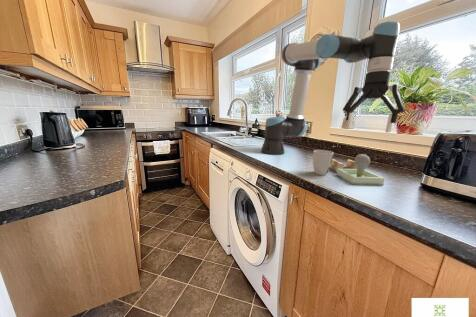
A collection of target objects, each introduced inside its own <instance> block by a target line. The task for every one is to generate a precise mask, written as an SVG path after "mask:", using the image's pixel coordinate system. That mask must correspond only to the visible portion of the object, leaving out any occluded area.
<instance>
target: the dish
mask: <svg viewBox="0 0 476 317" xmlns="http://www.w3.org/2000/svg"><path fill="white" fill-rule="evenodd" d="M356 175H357V169H337V172H336V176H338V177H340V178H341V179H343V180H344V181H346V182H348V183H349V184H351V185H357V186H358V185H360V186H361V185H365V186H384V183H385V179H386V178H385V177H382V176H381V175H378V174H375V173H373V172H372V171H369V170H367V169H366V168H365V169H364V171H363V174H362V177H357V176H356Z"/></svg>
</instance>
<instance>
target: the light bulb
mask: <svg viewBox="0 0 476 317" xmlns="http://www.w3.org/2000/svg"><path fill="white" fill-rule="evenodd" d="M353 161H354V163H355V165H356V167H357V175H356V176H357V177H362V174H363V171H364V169H365V170H366V169H367V167H369V166H370V164H371V158H370V157H369V156H368V155H367V154H364V153H360V154H357V155H356V156H355V157H354V160H353Z"/></svg>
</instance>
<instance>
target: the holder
mask: <svg viewBox="0 0 476 317" xmlns="http://www.w3.org/2000/svg"><path fill="white" fill-rule="evenodd" d="M344 165H345V164H344V163H342V162H340V161H338V160H336V159H333V158H332V163H331V166H330V169H331V170H333V171H334V172H336V173H337V169H357V167H356V165H355V163H354V160H352V159H347V160H346V165H345V166H344Z"/></svg>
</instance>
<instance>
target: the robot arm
mask: <svg viewBox="0 0 476 317" xmlns="http://www.w3.org/2000/svg"><path fill="white" fill-rule="evenodd" d="M373 28H374V29H373V32H372V34H371V35H369V36H367V37H364V38H356V37H349V36H342V35H336V34H334V33H331V34H329V33H327V34H322V35H321V37H319V39H315V40H310V41H306V42H300V43H297V42H290V43H288V44H286V45H285V46H284V47H283V48H282V51H281V60H282V61H283V63H284V64H285V65H287V66H288V67H294V71H295V73H296V76H295V81H294V86H293V91H292V96H291V103H290V108H289V111H288V112H289V113H287V115H286V118H285V117H284V116H274V117H273V116H272V117H268V118H267V119H265V124H264V126H265V130H264V141H263V144H262V146H261V149H260V151H261V153H263V154H265V155H276V156H278V155H284V154H285V148H284V142H283V138H288V137H289V138H297V137H302V136H303V135H304V134H305V133H306V131H307V128H308V126H307V125H308V124H307V121H306V120H305V119H306V118H305V116H304V112H305V106H306V101H307V97H308V96H307V95H308V92H309V87H310V83H311V76H312V75H313V74H314V73H316V72H315V71H316V69H318V68H319V67H320V65H321V63H322V60H323V59H337V60H338V59H339V60H343V61H345V62H346V63H348V64H352V63H357V62H358V63H359V62H361V61H364V60H368V61H367V66H366V72H367V73H366V74H365V77H364V82H363V84H364V85H363V87H358V86H355V87H354V89H353V93H352V94H351V96H350V97H349V99H348V100H347V102H346V103H345V105H344V106H343V109H342V111H343V112H346V116H345V117H346V118H345V120H346V121H347V126H346V129H347V130H351V129H352V128H353V124H354V118H355V117H354V116H355V112H354V111H355V110H356V109H357V108H358V107H360V106H361V104H362V103H364V102H365V101H366V100H368V99H369V100H372V99H377V100H378V99H381V100H382V101H383V103H384V104H385V105H386V107H387V108H388V109H389V110H390V112H391V113H389V114H388V118H387V123H386V127H385V130H384V131H385V133H391V132H392V131H391V130H392V128H393V127H392V126H393V124H396V123H397V119H398V115H399V114H400V113H405V112H406V108H405V104H404V103H403V99H402V96H401V94H400V90H399V89H400V85H399V84H396V83H394V84H393V85H389V83H390V79H391V71H392V69H393V65H394V64H393V63H394V59H395V54H396V50H397V49H396V48H397V44H398V40H399V37H400V36H399V35H400V28H401V24H400V23H399V22H398V21H395V20H393V21H392V20H391V21H384V22H381V23H379V24H377V25H376V26H374V27H373ZM388 91H390V92H391V93H392V96H393V99H394V101H395V104H396V106H395V104H393V102H392V101H391V99H390V98H389V97H388V95H387V94H386V93H387V92H388ZM361 93H363V94H362V95H361V96H359V95H360V94H361ZM358 96H359V98H358ZM357 98H358V99H357ZM396 107H397V108H396Z"/></svg>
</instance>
